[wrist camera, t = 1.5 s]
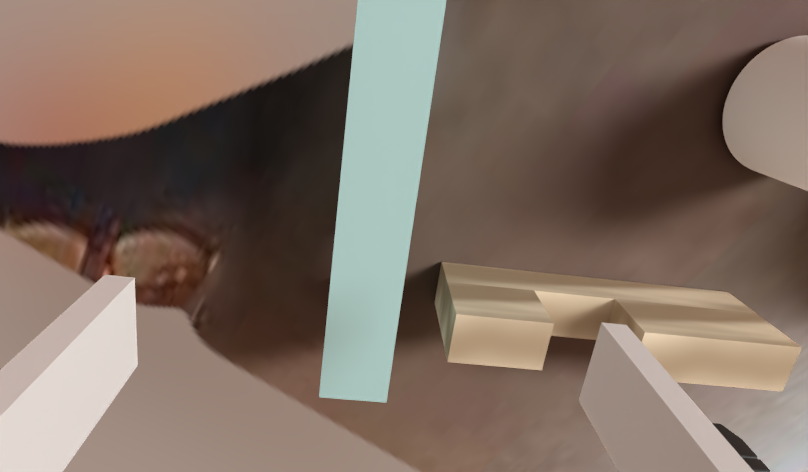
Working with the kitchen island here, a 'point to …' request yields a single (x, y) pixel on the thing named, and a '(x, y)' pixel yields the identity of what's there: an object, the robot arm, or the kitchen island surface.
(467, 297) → the birch rail
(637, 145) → the kitchen island surface
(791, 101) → the beverage can
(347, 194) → the teal board
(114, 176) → the kitchen island surface
